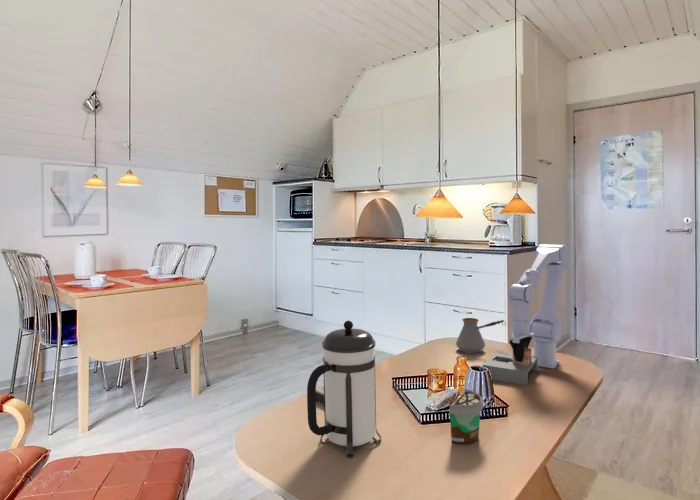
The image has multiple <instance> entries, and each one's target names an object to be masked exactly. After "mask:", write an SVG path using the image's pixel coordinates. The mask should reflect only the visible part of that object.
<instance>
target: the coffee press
mask: <svg viewBox="0 0 700 500" xmlns="http://www.w3.org/2000/svg"><path fill="white" fill-rule="evenodd" d="M343 327H344V328H339V329H335V330H332V331H330V332H329V333H327V334H326V336H325V337H324V340H323V341H322V343H321V345H322V349H323V359H322V361H323V362H322V363H323V364H321V365H319V366H317V367H316V368H314V370H312V372H311V374H310V376H309V378H308V382H307V389H306V390H307V391H306V399H307V400H306V401H307V402H306V403H307V404H306V406H307V423H308V428H309V430H310V431H311V432H312V433H313V434H314V435H316V436H320V439H319V441H320V443H321V442H322V440H323V439H322V438H323V437H324V436H325V435H326V436H327V438H326V439H325V442H326V443H327V442H328V441H330V442H331V443H333V444H335V445H338V446H340V447H341V446H342V447H346V456H347V458H352V457H353V456H354V447H358V446H362V445H365V444H367V443H369V442H370V441H372V440H373V442H375V443H376V444H381V442H382V436H381V435H380V433H379V432H378V430H377V429H376V426H377V401H376V400H377V398H376V393H377V392H376V386H375V370H376V356H375V347H376V340H375V339H374V337H373V335H372V334H371V333H369V332H368V331H366V330H363V329H360V328H353V327H354V323H353V322H352V321H351V320H346V321H344V323H343ZM322 375H323V386H324V405H323V408H324V409H323V411H324V412H323V413H324V414H323V415H324V425H323V426H319V424H318V422H317V421H318V420H317V401H316V388H317V383H318V380H319V378H320V377H322ZM375 434H376V435H377V436H378V437H379V439H377V438H375V437H374V436H375Z"/></svg>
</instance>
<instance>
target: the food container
mask: <svg viewBox="0 0 700 500" xmlns="http://www.w3.org/2000/svg"><path fill="white" fill-rule="evenodd" d="M483 409H484V403H483V399H482V397H481V395H480V394H479V393H477V392H476V391H474V390H471V389H467V388H464V392H463V394H462V395H461V396H460V397H458V398H457V399H456V400H455V402H454V403H453V404H449V412H448V413H449V414H450V415H449V417H450V421H449V422H450V436H451V437H450V438H451V439H450V440H451V444H452V445H456V446H457V445H460V446H466V445H472V444H475V443H476V442H477V441H478V440H479V437H480V435H479V433H480V421H481V420H480V419H481V411H483Z"/></svg>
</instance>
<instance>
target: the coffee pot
mask: <svg viewBox="0 0 700 500" xmlns="http://www.w3.org/2000/svg"><path fill="white" fill-rule="evenodd" d="M462 321H463V325H462V328H461V329H460V333H459V335H458V337H457V339H456V342H455V345H456V347H457V348H458V349H459V350H460V351H461V352H462V353H465V354H479V353H481V352H482V350H483V349H484V348H485V347H486V343H485V341H484V337H483V336H482V333H481V332H480V331H481V330H480V329H484V328H487V327H491V326H495V325H497V324H498V325H500V324H502V326H503V327H505V326H506V324H507V322H506V321H505V320H502V319H501V320H496V321H492V322H489V323H485V324H483V325H480V326H478V322H479V319H478V318H473V317H464V318H462ZM503 323H504V324H503Z"/></svg>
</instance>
